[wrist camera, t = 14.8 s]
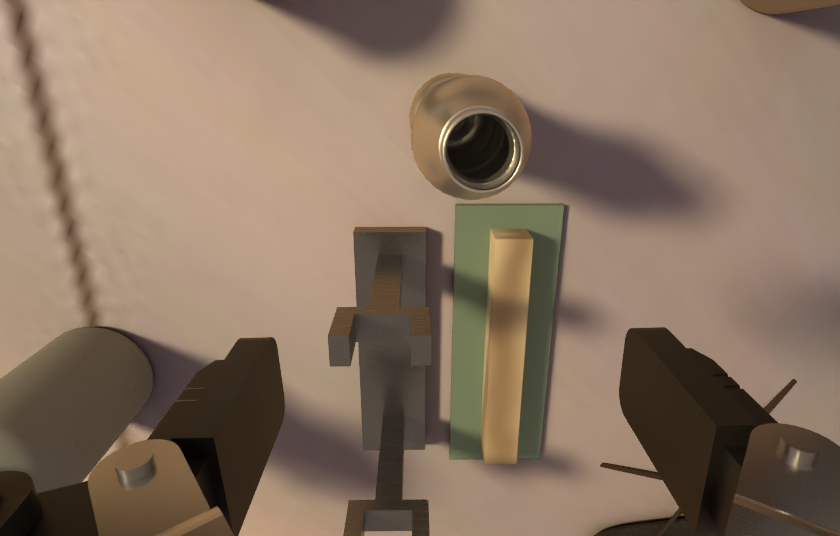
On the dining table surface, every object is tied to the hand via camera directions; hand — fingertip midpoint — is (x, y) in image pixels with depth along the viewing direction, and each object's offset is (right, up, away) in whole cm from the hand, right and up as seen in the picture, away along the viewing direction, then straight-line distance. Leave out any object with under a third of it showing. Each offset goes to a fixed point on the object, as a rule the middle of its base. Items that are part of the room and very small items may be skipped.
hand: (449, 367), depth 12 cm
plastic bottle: (+2, +14, +30) cm, 33 cm away
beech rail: (+7, -5, +36) cm, 37 cm away
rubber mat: (+7, -4, +36) cm, 37 cm away
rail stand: (-3, -5, +36) cm, 37 cm away
